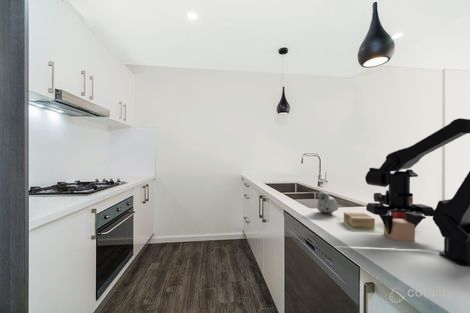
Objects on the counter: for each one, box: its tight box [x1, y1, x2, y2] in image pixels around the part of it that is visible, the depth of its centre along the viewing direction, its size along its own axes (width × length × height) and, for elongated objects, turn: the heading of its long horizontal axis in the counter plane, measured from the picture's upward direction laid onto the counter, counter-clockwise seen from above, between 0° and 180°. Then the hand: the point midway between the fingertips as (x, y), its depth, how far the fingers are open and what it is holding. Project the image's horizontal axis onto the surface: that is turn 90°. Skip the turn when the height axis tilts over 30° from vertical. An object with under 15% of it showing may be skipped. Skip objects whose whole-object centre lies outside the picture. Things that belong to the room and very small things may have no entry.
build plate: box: [336, 217, 384, 233], centre depth 84 cm, size 16×12×1 cm
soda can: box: [390, 197, 414, 221], centre depth 87 cm, size 7×7×12 cm
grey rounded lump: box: [316, 190, 339, 215], centre depth 98 cm, size 10×10×12 cm
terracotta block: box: [383, 219, 416, 242], centre depth 71 cm, size 6×6×6 cm
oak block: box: [343, 211, 376, 229], centre depth 83 cm, size 8×8×4 cm
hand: (398, 234), depth 71 cm, fingers closed on terracotta block, 6 cm apart
